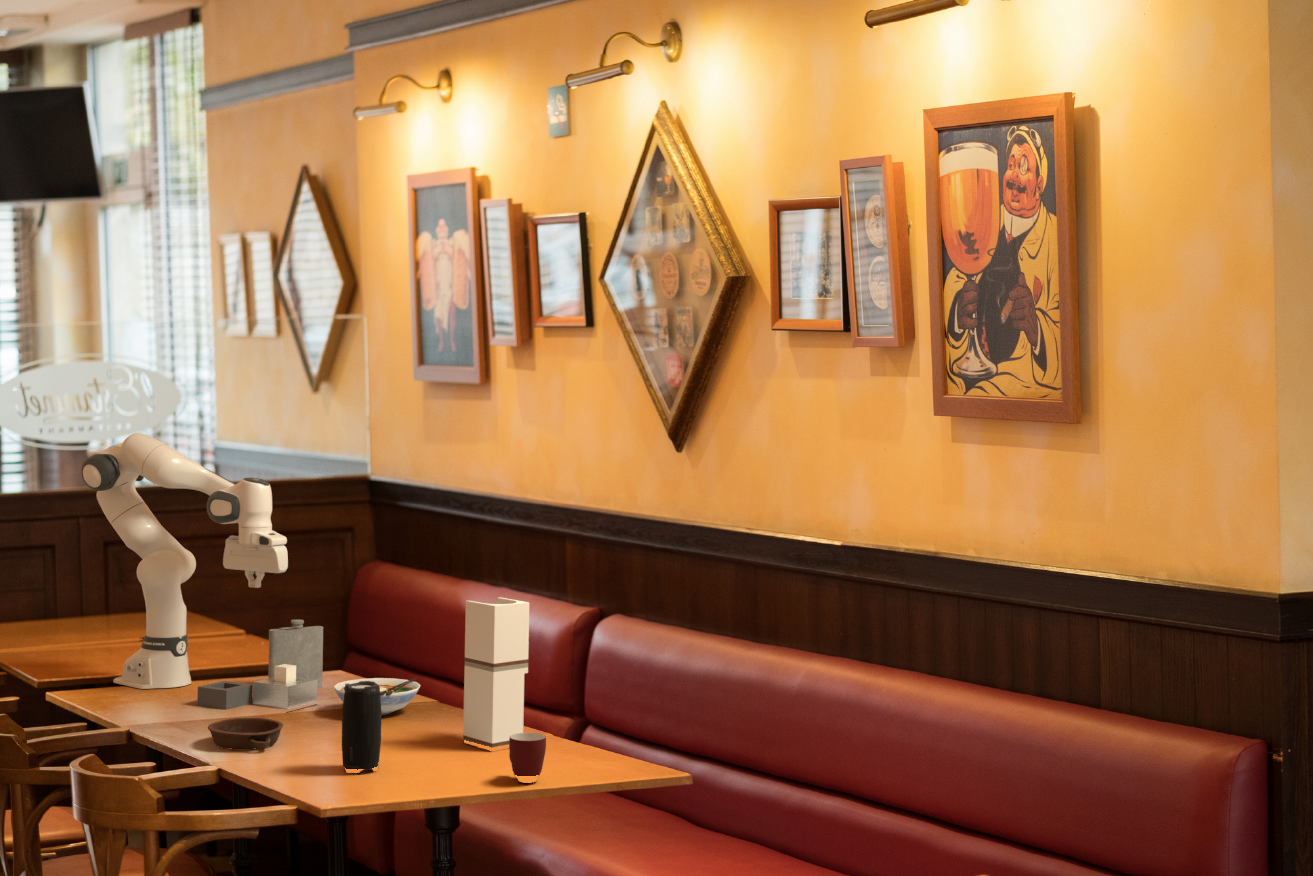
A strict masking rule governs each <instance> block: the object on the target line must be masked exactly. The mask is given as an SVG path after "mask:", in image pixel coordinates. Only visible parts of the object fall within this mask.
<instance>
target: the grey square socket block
mask: <svg viewBox="0 0 1313 876" xmlns="http://www.w3.org/2000/svg"><path fill="white" fill-rule="evenodd" d="M196 699H197V704H196V705H197V707H205V708H209V709H210V708H211V709H216V710H217V709H220V710H225V711H226V710H231V709H235V708H240V707H243V706H246V705H251V704H253V683H252V684H251V683H243V682H237V681H235V682H234V681H229V680H228V681H227V680H223V681H222V680H221V681H218V682H213V683H209V684H204V685H200V686H197V698H196Z"/></svg>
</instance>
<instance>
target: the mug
mask: <svg viewBox="0 0 1313 876" xmlns="http://www.w3.org/2000/svg"><path fill="white" fill-rule="evenodd" d="M508 750H509V755H508V757H509V761H510V763H511V769H512V772H513V775H514V776H515V775H517V776H536V775H539V776H540V775H541V773H542V770H543V766H544V760H545V757H546V750H547V736H546V735H545V734H541V733H537V732H523V733H517V734H513V735H511V736H510V739H509V749H508Z"/></svg>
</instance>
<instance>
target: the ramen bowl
mask: <svg viewBox="0 0 1313 876" xmlns="http://www.w3.org/2000/svg"><path fill="white" fill-rule="evenodd" d="M415 680H418V677H413V678H411V679H409V680H408V679H403V678H401V679H400V678H393V677H392V678H391V677H389V678H388V677H385V678H384V677H373V678H370V677H369V678H357V679H349V680H345V681H341V682H338V683H336V684H335V685H333V690H334V691H335V693H336V694H337V696H338V698H339V699H340V700H341V701H342V702H343V701H344V693H345V690H344V687H345V684H348V683H349V684H353V683H358V682H360V681H373V682H375V683H376V684H378V685H379V687H380V699H381V717H382V716H388V715H390V714H392V713H393V712H395V711H398V710H401V709H403V708H405V707H406V706H407V705H409V704H410V703H411V701H413V699H414V698H415V697H416V694H417V693H418V692H419V690H420V688H421V684H420V683H419V682H417V681H415Z"/></svg>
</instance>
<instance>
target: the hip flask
mask: <svg viewBox="0 0 1313 876" xmlns="http://www.w3.org/2000/svg"><path fill="white" fill-rule="evenodd" d="M290 623H291V626H287V627H286V626H285V627H279V628H271V629H269V630H268V674H267V675H268V677H267V679H268V678H272V677H275V666H278V665H283V664H288V665H296V677H303V678H311V679H317V689H321V688H323V670H324V669H323V665H324V662H323V659H324V658H323V657H324V654H323V653H324V626H321V625H314V626H304V623H305V621H304V619H291V620H290Z"/></svg>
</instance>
